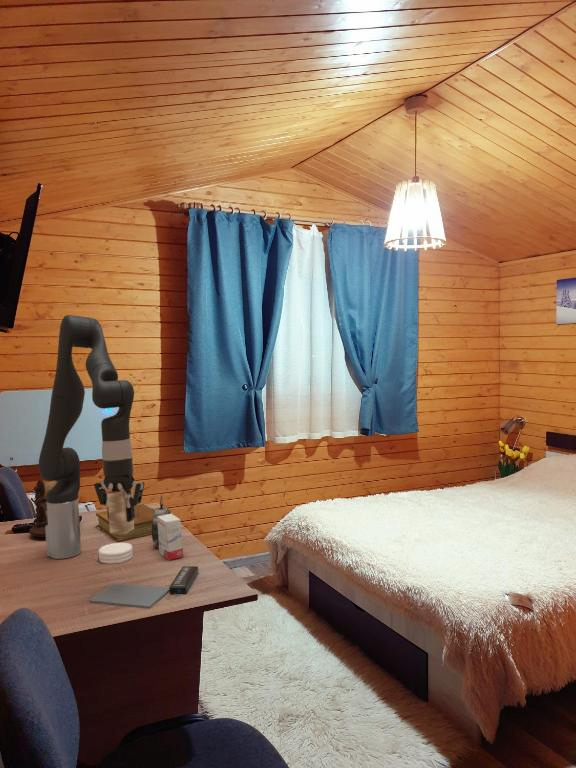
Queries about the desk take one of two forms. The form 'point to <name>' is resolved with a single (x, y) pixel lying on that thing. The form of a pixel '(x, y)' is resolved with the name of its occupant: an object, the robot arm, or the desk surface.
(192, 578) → the multiport hub
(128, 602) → the felt mat
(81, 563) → the desk surface
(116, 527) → the birch block
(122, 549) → the coaster
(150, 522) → the diary
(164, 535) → the ink box
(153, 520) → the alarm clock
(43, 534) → the brown tall piece
